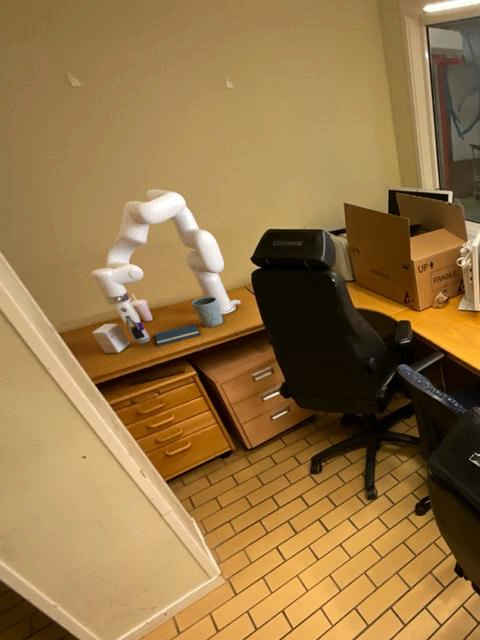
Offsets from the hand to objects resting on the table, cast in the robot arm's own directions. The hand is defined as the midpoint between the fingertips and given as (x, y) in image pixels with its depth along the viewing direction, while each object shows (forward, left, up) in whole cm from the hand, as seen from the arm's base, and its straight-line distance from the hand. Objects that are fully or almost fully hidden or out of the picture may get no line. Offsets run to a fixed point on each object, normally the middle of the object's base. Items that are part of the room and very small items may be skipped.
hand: (139, 334), depth 176 cm
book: (-13, 0, -5) cm, 13 cm away
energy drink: (0, 0, -3) cm, 3 cm away
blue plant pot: (-28, -4, -5) cm, 29 cm away
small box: (+9, -2, -5) cm, 11 cm away
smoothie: (-3, -28, -5) cm, 29 cm away
